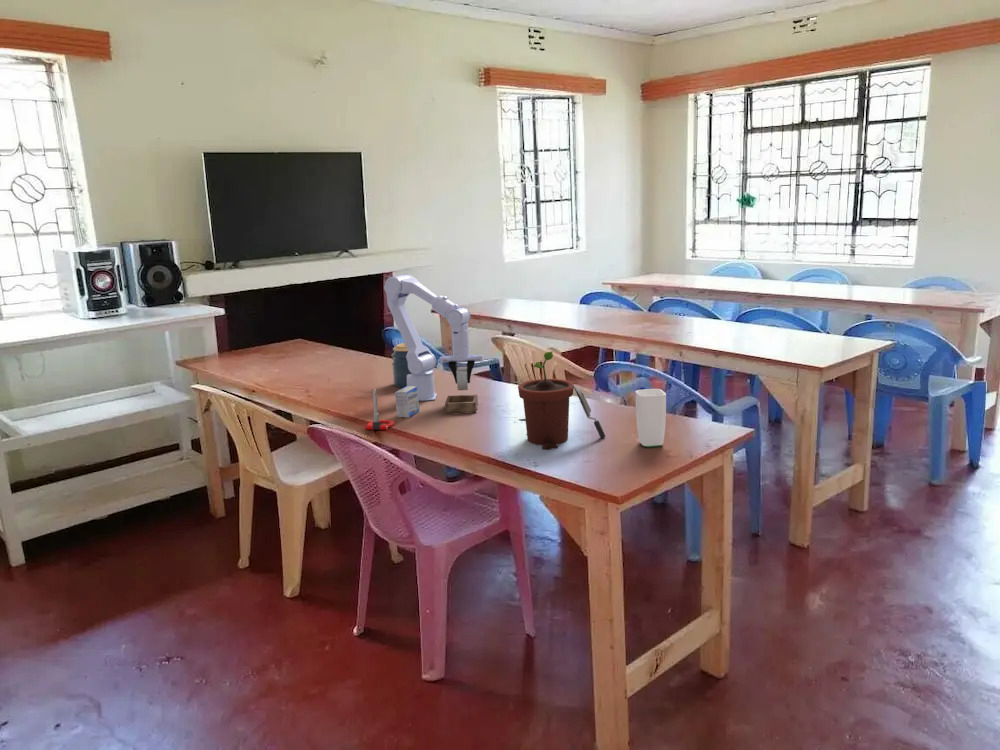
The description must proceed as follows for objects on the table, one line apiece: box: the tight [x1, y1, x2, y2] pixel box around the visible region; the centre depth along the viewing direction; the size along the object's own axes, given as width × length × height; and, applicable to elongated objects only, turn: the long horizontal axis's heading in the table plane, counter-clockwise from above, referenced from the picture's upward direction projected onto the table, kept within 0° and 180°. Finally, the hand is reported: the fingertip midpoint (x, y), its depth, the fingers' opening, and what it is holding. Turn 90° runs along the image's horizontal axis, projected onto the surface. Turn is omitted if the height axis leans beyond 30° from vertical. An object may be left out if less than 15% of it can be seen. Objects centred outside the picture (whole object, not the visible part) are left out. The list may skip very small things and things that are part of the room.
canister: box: [391, 341, 419, 389], centre depth 296 cm, size 13×13×18 cm
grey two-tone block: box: [456, 366, 470, 391], centre depth 267 cm, size 4×5×7 cm
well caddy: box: [444, 394, 479, 415], centre depth 260 cm, size 10×10×4 cm
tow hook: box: [365, 388, 396, 431], centre depth 245 cm, size 8×13×9 cm
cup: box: [635, 388, 667, 448], centre depth 214 cm, size 7×7×15 cm
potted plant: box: [517, 351, 606, 451], centre depth 221 cm, size 18×22×25 cm
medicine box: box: [394, 386, 420, 419], centre depth 256 cm, size 8×4×9 cm, turn 160°
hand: (462, 382), depth 268 cm, fingers closed on grey two-tone block, 3 cm apart
